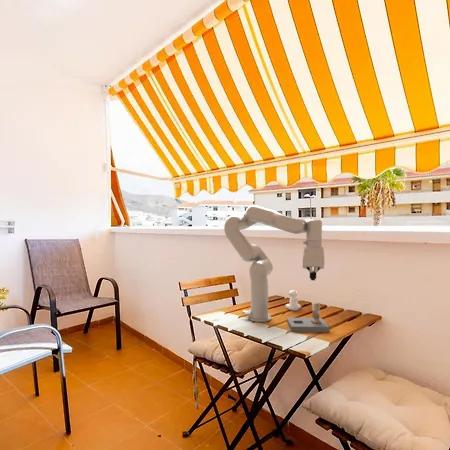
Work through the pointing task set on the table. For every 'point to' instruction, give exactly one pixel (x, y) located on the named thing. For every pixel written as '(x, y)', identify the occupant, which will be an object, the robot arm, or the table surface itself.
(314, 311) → the birch peg
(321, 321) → the hole board
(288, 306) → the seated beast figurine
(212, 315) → the table surface
